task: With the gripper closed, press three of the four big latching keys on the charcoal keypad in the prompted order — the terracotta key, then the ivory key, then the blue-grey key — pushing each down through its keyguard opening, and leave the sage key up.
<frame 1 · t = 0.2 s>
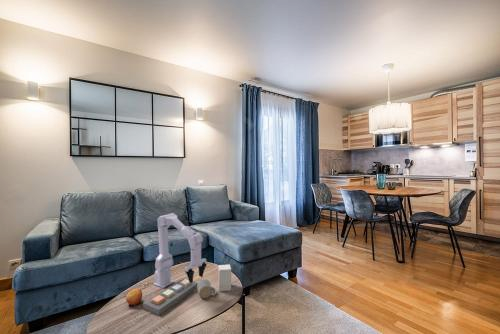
hand: (196, 279, 130), 10 cm above the table, fingers open, 7 cm apart
ceramic mug: (206, 295, 132), on the table
key ivory: (185, 283, 138), point 4 cm above the table, slide at 0.0 cm
keypad: (172, 297, 130), on the table
key terracotta: (158, 300, 121), point 4 cm above the table, slide at 0.0 cm
supplement box: (224, 288, 140), on the table
key sage: (168, 293, 127), point 4 cm above the table, slide at 0.0 cm
fruit: (134, 303, 125), on the table
key bluegrey: (177, 288, 132), point 4 cm above the table, slide at 0.0 cm
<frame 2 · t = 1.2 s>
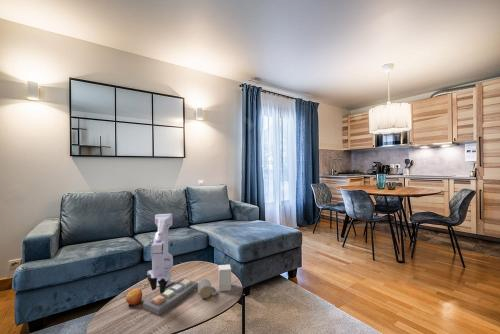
hand: (158, 291, 121), 8 cm above the table, fingers open, 6 cm apart
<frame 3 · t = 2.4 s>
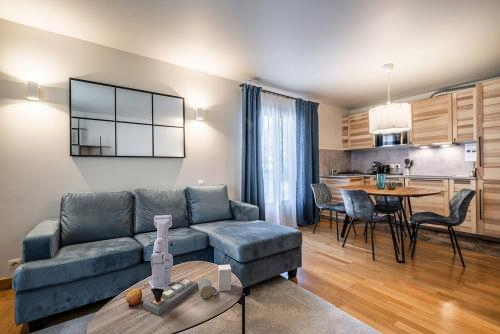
hand: (158, 301, 121), 3 cm above the table, fingers closed, pressing on key terracotta
key terracotta: (158, 302, 121), point 2 cm above the table, slide at 1.5 cm, touching gripper
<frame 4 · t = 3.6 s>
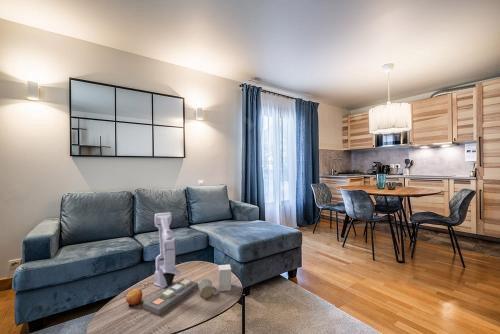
hand: (169, 285, 128), 8 cm above the table, fingers closed
key terracotta: (158, 303, 121), point 2 cm above the table, slide at 1.6 cm
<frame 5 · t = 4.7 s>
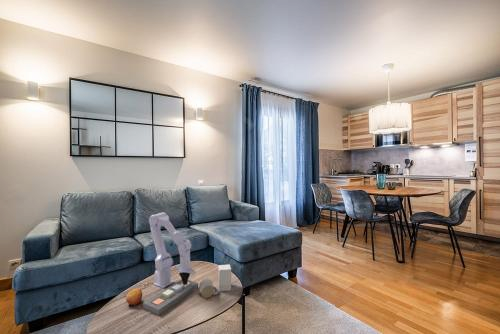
hand: (185, 283, 138), 3 cm above the table, fingers closed, pressing on key ivory
key ivory: (185, 285, 138), point 2 cm above the table, slide at 1.4 cm, touching gripper
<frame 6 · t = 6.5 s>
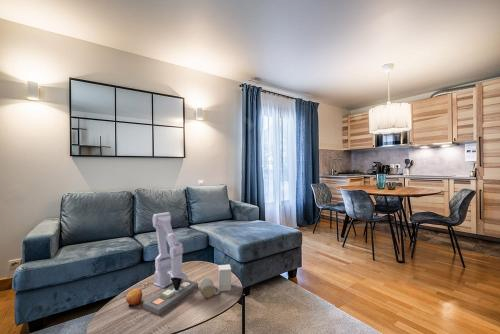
hand: (177, 289, 132), 3 cm above the table, fingers closed, pressing on key bluegrey
key ivory: (185, 285, 138), point 2 cm above the table, slide at 1.6 cm
key bluegrey: (177, 291, 132), point 2 cm above the table, slide at 1.6 cm, touching gripper
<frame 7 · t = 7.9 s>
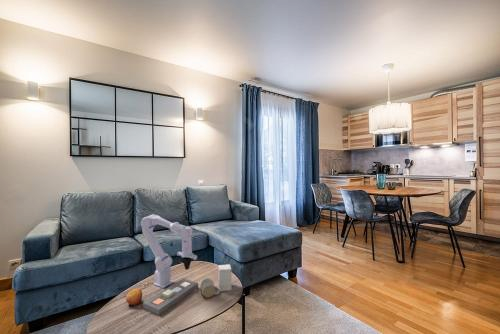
hand: (187, 268, 142), 10 cm above the table, fingers closed
key bluegrey: (177, 291, 132), point 2 cm above the table, slide at 1.6 cm
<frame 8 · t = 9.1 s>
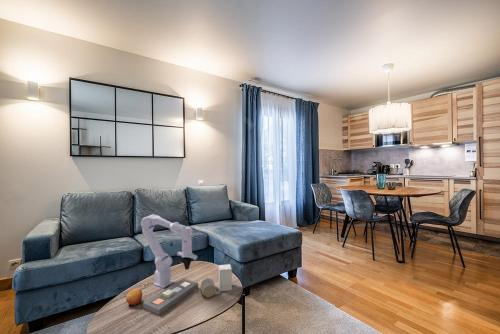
hand: (187, 268, 142), 10 cm above the table, fingers closed
at the end: key terracotta slide at 1.6 cm; key ivory slide at 1.6 cm; key bluegrey slide at 1.6 cm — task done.
